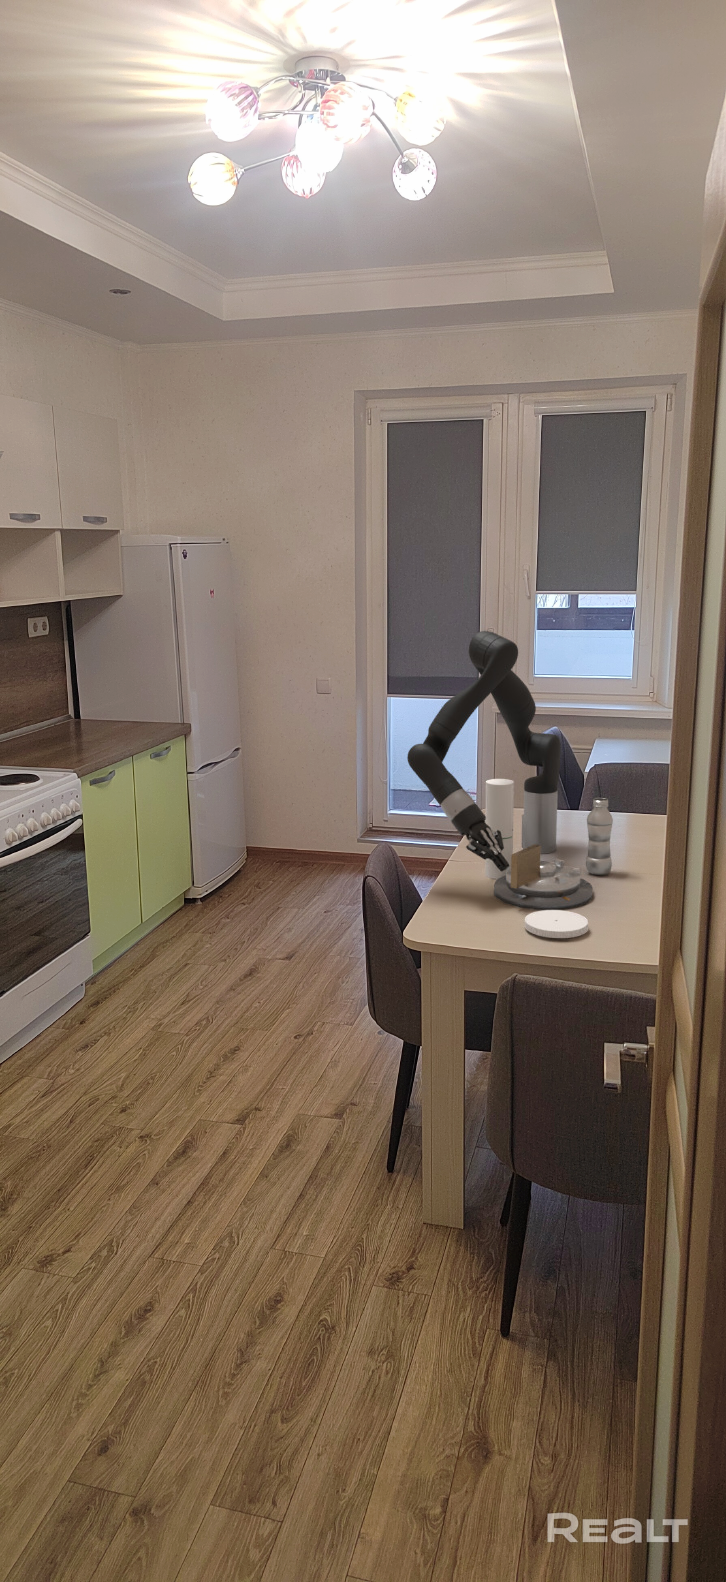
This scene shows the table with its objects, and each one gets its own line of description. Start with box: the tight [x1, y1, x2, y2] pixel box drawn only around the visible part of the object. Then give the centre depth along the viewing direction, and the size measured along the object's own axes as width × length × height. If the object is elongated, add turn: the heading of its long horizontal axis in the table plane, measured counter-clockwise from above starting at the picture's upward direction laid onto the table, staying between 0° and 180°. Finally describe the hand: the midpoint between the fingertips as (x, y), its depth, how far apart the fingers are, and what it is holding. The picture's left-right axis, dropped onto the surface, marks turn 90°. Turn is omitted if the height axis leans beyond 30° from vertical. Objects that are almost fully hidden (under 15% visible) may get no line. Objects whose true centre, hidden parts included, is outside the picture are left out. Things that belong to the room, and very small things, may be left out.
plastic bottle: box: [585, 797, 614, 876], centre depth 269 cm, size 6×7×20 cm
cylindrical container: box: [484, 778, 515, 880], centre depth 270 cm, size 7×7×25 cm
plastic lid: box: [524, 909, 589, 939], centre depth 233 cm, size 14×14×2 cm
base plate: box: [493, 876, 594, 911], centre depth 257 cm, size 24×24×2 cm
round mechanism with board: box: [506, 844, 581, 897], centre depth 253 cm, size 23×18×11 cm
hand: (505, 868), depth 248 cm, fingers closed
